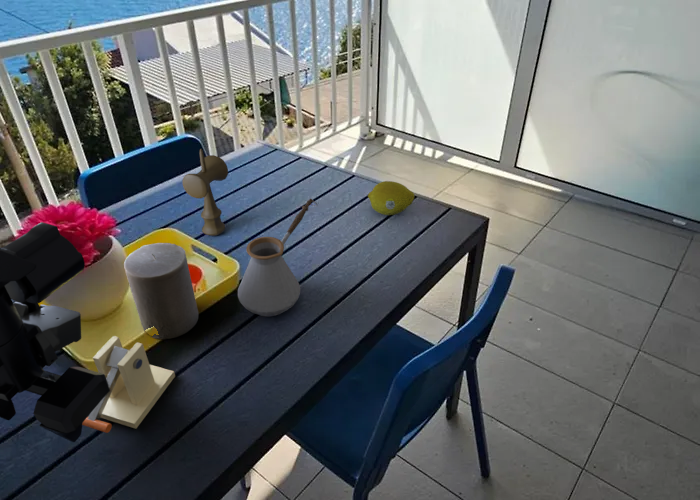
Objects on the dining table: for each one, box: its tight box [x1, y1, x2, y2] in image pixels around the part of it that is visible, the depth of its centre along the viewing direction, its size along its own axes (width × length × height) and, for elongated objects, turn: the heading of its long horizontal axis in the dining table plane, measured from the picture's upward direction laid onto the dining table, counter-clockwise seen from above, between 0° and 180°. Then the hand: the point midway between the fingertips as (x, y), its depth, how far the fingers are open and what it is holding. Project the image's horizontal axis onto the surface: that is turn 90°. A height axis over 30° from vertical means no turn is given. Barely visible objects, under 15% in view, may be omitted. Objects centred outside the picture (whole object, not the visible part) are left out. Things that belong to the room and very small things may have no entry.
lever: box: [82, 346, 131, 434], centre depth 70 cm, size 11×6×2 cm, turn 162°
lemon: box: [367, 180, 415, 216], centre depth 118 cm, size 11×8×8 cm
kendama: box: [182, 148, 229, 237], centre depth 106 cm, size 6×10×20 cm, turn 164°
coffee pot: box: [237, 198, 318, 317], centre depth 93 cm, size 21×12×15 cm, turn 151°
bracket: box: [92, 335, 176, 430], centre depth 73 cm, size 10×8×10 cm
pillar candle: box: [123, 242, 199, 340], centre depth 85 cm, size 10×10×15 cm
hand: (43, 427), depth 58 cm, fingers open, 9 cm apart
